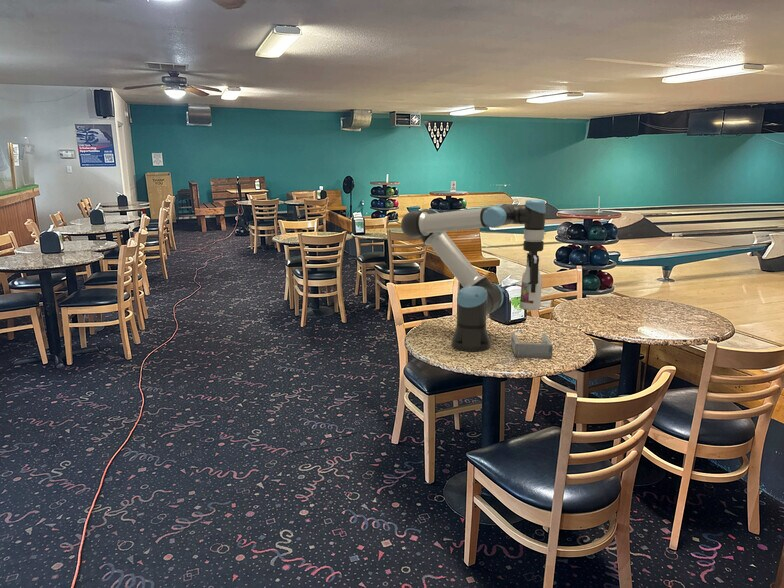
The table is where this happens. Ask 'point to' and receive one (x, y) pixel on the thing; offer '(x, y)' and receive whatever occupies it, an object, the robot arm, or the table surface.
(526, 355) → the coupler bracket
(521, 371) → the table surface
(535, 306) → the milk bottle
